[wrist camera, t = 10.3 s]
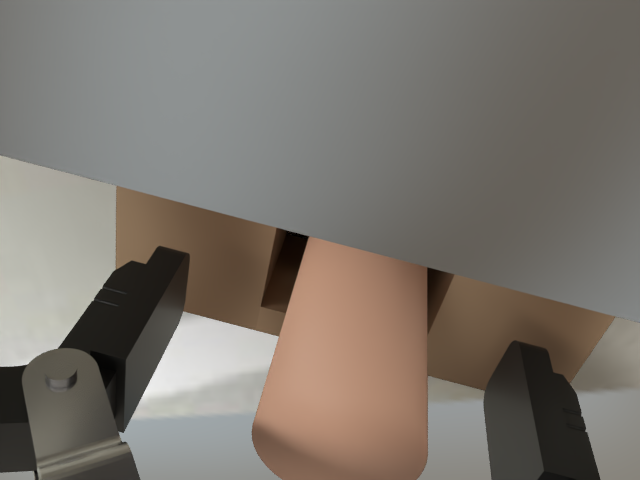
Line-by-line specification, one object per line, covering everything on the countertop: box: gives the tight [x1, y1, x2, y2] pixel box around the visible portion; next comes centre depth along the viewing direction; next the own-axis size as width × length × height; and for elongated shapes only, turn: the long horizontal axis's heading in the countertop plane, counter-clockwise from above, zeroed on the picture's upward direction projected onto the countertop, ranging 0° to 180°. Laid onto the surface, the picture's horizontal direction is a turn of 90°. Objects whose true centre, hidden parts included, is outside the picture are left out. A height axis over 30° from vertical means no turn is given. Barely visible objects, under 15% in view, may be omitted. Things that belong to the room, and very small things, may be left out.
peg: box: [252, 236, 428, 480], centre depth 15 cm, size 3×3×10 cm
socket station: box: [0, 0, 640, 390], centre depth 13 cm, size 14×14×12 cm
